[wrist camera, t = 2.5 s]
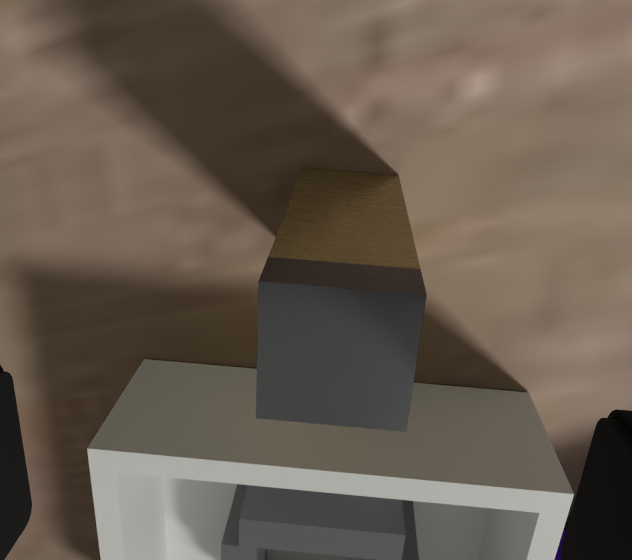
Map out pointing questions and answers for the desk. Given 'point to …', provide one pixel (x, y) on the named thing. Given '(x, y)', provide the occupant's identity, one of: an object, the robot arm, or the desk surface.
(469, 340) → the desk surface
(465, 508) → the box
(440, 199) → the desk surface
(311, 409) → the peg
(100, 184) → the desk surface
